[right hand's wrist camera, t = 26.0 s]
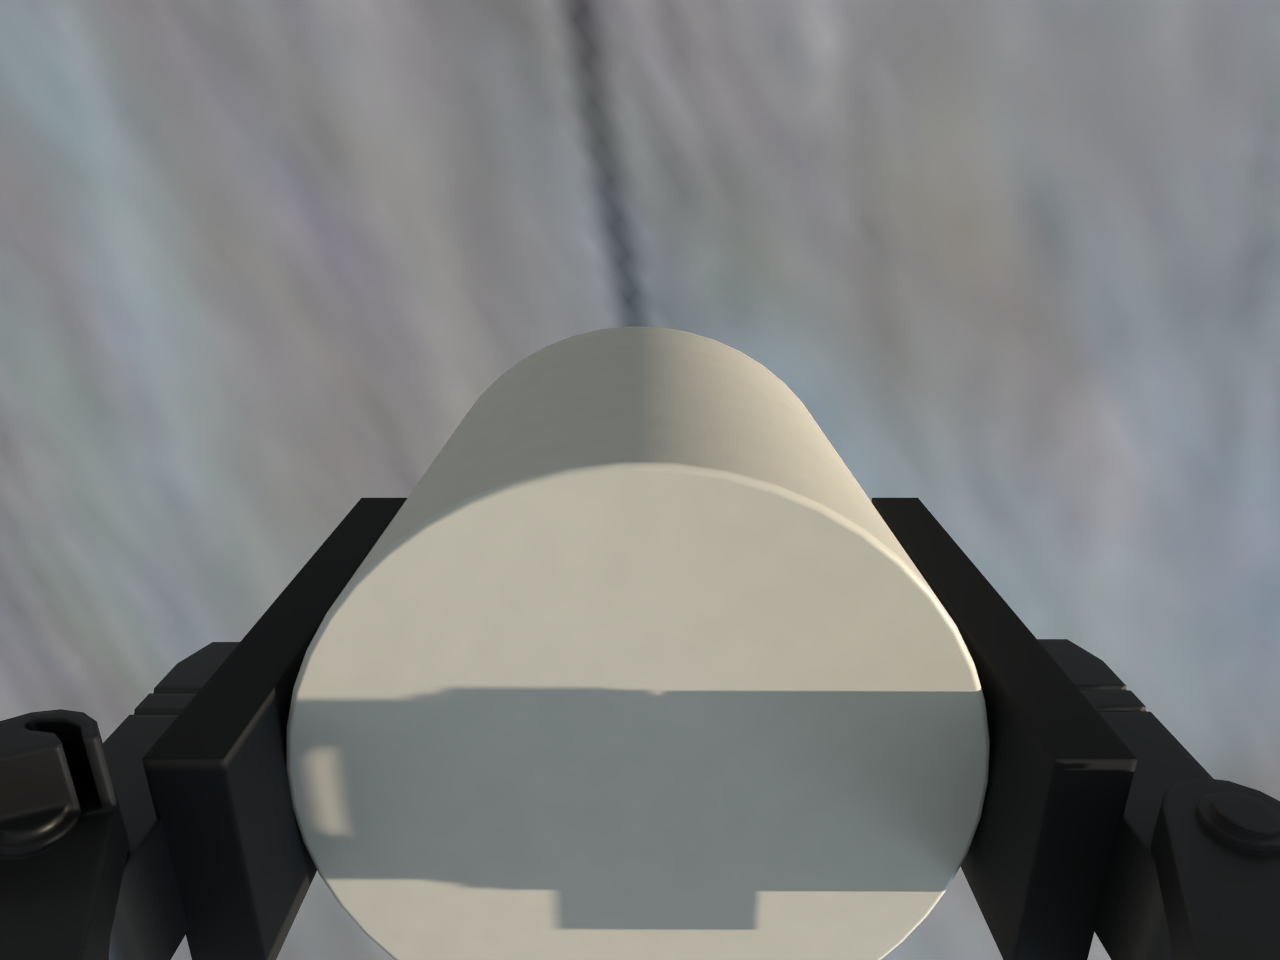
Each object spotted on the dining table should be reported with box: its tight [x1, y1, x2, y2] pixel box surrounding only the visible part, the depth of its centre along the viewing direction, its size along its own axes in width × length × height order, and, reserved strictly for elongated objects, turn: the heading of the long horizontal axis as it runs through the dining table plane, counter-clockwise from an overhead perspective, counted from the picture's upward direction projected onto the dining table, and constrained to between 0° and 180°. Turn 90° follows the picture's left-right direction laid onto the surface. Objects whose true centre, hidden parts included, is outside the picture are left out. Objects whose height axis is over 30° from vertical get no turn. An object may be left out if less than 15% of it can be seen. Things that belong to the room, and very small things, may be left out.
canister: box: [286, 327, 990, 960], centre depth 13 cm, size 8×8×7 cm
